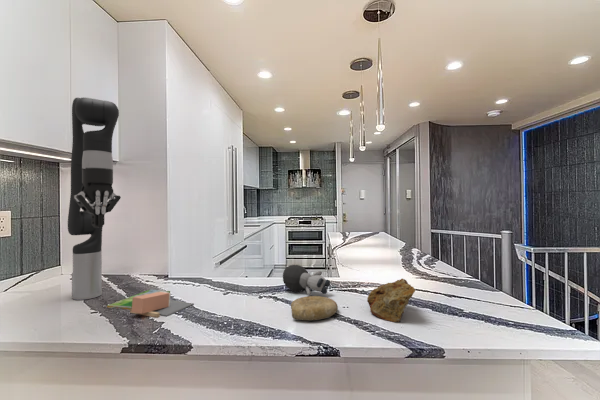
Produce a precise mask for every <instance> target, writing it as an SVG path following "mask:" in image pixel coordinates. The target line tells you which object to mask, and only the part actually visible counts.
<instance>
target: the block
mask: <svg viewBox="0 0 600 400" xmlns="http://www.w3.org/2000/svg"><path fill="white" fill-rule="evenodd" d="M170 300H171V292H170V293H168V292H156V293H151V294H146V295H141V296H136V297H133V301H132V312H135V313H140V314H143V313H146V312H150V311H154V310H158V309H162V308H165V307H169V306H170ZM140 314H139V315H140Z"/></svg>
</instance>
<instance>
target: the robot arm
mask: <svg viewBox="0 0 600 400" xmlns="http://www.w3.org/2000/svg"><path fill="white" fill-rule="evenodd" d="M119 111H120V110H119V108H118V106H117V104H116V103H114V102H113V101H109V100H104V99H103V100H102V99H96V98H91V97H75V98H74V99H73V100H72V105H71V127H72V128H71V129H72V132H71V133H72V142H71V143H72V146H71V158H70V159H71V161H70V163H71V164H70V196H69V205H68V206H69V207H68V214H67V215H68V216H67V231H68V234H69V235H71V236H86V235H87V236H88V235H90V237H89V238H87V239H86V240H84V241H83V242H80V243H77V244H75V245H73V247H72V273H71V298H72V299H73V300H75V301H77V300H78V301H80V300H81V301H83V300H90V299H95V298H98V297H100V296H102V289H103V287H102V286H103V282H102V279H103V276H102V272H103V271H102V267H103V266H102V262H103V261H102V260H103V259H102V258H103V257H102V253H103V251H102V248H103V247H102V245H103V243H102V241H103V240H102V239H103V227H104V225H105V215H106V214H107V213H110V212H112V211H113V209H114V208H115V206H116V205H117V204H118V202H120V200H121V196H120V195H117V194H116V193H115V192H114V189H113V184H114V160H113V134H114V132H115V128H116V125H117V122H118V121H119V116H120V112H119ZM83 125H88V126H93V127H103V128H102V129H97V130H87V131H85V132H84V128H83Z"/></svg>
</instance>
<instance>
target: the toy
mask: <svg viewBox="0 0 600 400" xmlns="http://www.w3.org/2000/svg"><path fill="white" fill-rule="evenodd" d="M322 273H323V271H321V270H317V271H316V272H314V273H313V274H310V273H309V271H307V269H306V268H305V267H304V266H302V265H299V264H291V265H290V264H289V265H288V266H287V267H286V268H285V269H284V270H283V272H282V281H283V284H284V286H285V287H286V288H287V289H289V290H290V291H292V292H294V293H301V291H303V290H305V291H306V294H307V295H308V296H312V290H313V291H315V292H320V293H321V294H322V295H326V294H327V292H328V287H330V286H331V280H329V279H326V278H325V277H324V276H323V275H322Z"/></svg>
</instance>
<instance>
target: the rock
mask: <svg viewBox="0 0 600 400" xmlns="http://www.w3.org/2000/svg"><path fill="white" fill-rule="evenodd" d="M415 292H416V289H415V287H414V286H412V285H411V284H409V283H408V281H407V279H405V278H401V279H397V280H396V281H394V282H386V283H385V284H383V285H380V286H378V287H376V288H374V289H372V290H371V291H370V292H369V294H368V295H367V299H366V302H367V304H368V306H369V310H370V313H371V314H372V315H374V316H375V317H377V318H379V319H382V320H384V321H388V322H392V323H397V322H398V323H400V321H401V320H402V316H403V314H404V313H405V309H406V307H407V306H408V305H409V302H410V299H411V298H412V297H413V295H414V294H415Z"/></svg>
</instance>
